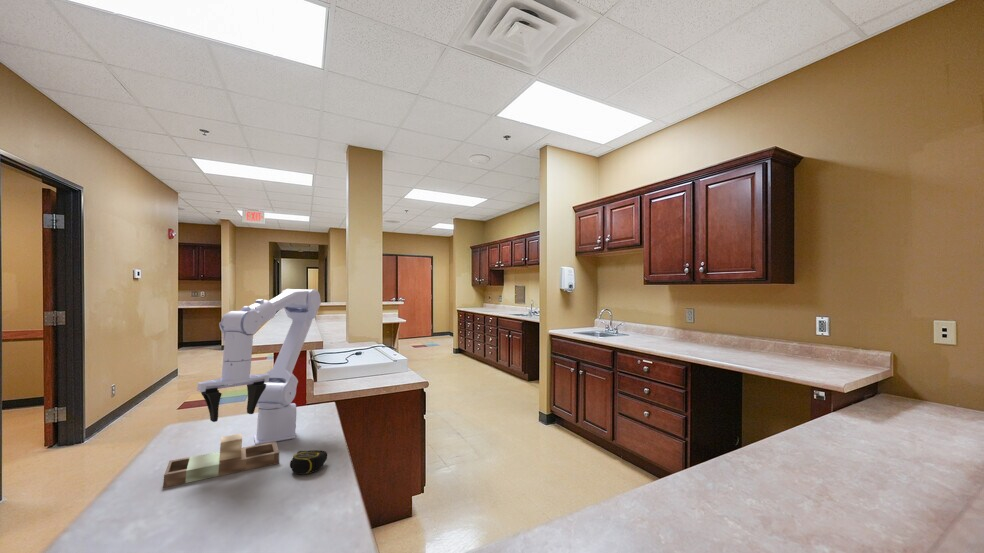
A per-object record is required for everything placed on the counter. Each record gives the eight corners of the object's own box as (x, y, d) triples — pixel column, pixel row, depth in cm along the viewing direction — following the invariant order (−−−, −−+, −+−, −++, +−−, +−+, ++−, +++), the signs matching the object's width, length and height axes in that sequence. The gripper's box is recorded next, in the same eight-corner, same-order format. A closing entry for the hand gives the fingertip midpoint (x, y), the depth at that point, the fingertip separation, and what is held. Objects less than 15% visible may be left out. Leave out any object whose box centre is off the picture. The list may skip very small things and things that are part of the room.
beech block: (240, 450, 86) (241, 433, 87) (240, 456, 83) (242, 438, 83) (219, 454, 84) (221, 437, 84) (219, 460, 81) (220, 442, 81)
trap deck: (275, 451, 92) (275, 441, 92) (278, 463, 86) (279, 452, 86) (168, 472, 80) (169, 460, 80) (163, 487, 74) (164, 475, 74)
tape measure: (328, 463, 86) (329, 447, 87) (316, 477, 80) (317, 460, 80) (298, 464, 86) (299, 448, 86) (284, 478, 79) (285, 460, 79)
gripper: (261, 355, 97) (257, 407, 95) (194, 361, 85) (189, 421, 83) (274, 358, 93) (270, 412, 91) (206, 364, 81) (200, 427, 80)
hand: (232, 417), depth 87 cm, fingers open, 7 cm apart
